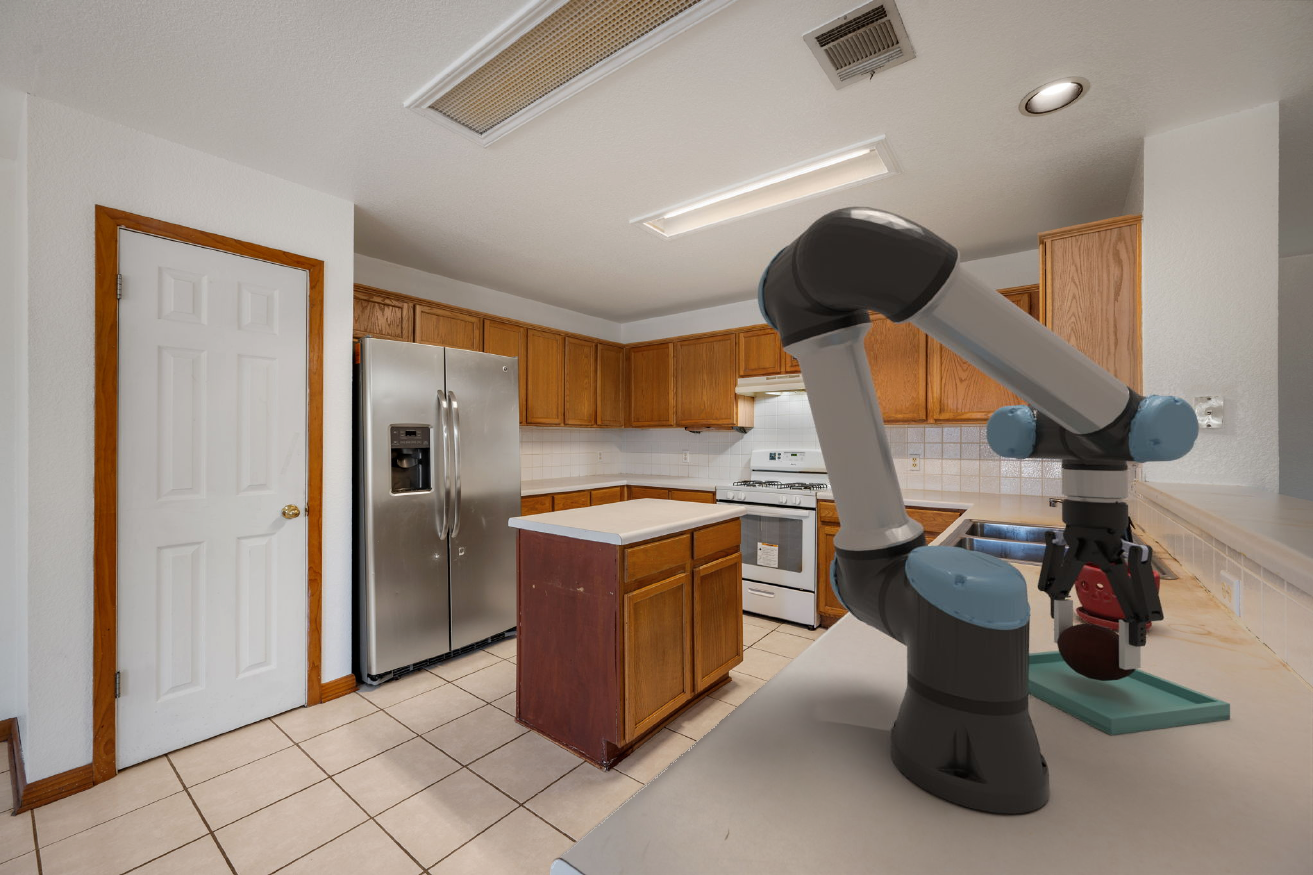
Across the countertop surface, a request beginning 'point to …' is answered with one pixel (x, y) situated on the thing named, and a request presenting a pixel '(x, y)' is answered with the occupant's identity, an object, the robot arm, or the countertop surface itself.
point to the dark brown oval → (1092, 652)
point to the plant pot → (1100, 598)
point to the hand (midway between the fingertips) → (1094, 654)
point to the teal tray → (1120, 698)
